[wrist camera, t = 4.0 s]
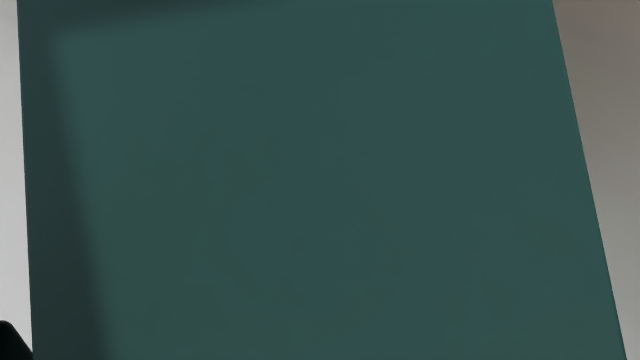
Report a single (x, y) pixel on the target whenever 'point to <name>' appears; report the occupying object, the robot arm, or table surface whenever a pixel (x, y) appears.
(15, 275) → the table surface
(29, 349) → the robot arm
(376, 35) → the teal box
